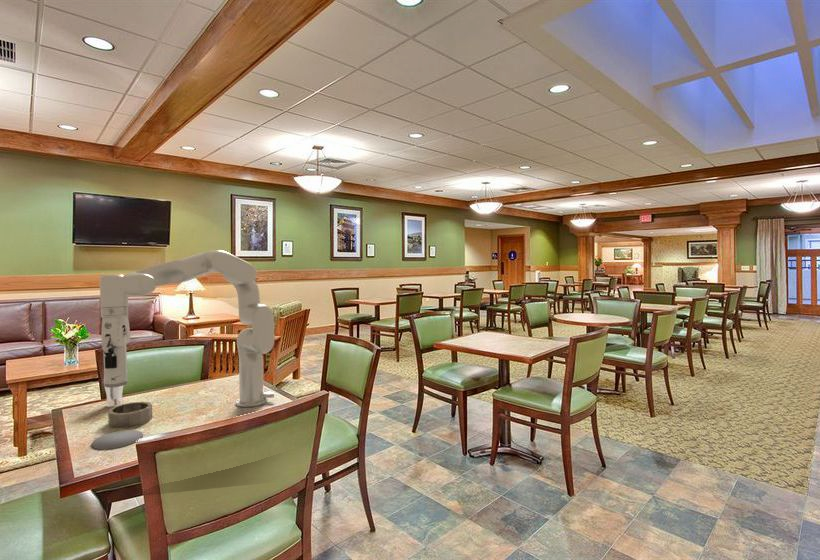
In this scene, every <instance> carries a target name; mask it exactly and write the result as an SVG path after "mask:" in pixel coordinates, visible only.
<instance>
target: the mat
mask: <svg viewBox="0 0 820 560" xmlns="http://www.w3.org/2000/svg"><path fill="white" fill-rule="evenodd" d="M141 437H142V438H143V437H144V434H143V431H140V430H136V429H131V430H130V429H125V430H119V431H115V432H114V431H113V432H109V433H106V434H103V435H100V436H99V437H97V438H96V439H93V441H92V443H91V447H92V446H93V447H94V449H95V448H98V449H97V450H102V449H105V450H114V449H113V448H115V449H119V448H124V447H127V446H130V445H132V444H135V443H136V442H135V441H136V440H137V439H139V438H141ZM142 438H141V439H142ZM93 447H92V448H93Z"/></svg>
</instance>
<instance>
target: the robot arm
mask: <svg viewBox="0 0 820 560" xmlns="http://www.w3.org/2000/svg"><path fill="white" fill-rule="evenodd" d="M213 273H219V274H222V277H223V279H224V280H225V281H226V282H228V283H230V284H232V286H233V287H234V288H235V290H236V293H237V301H238V319H239V322H240V323H241V324H243V325H245V326H250V327H248V328H244V329H242V330H241V331H240V332H239V333H238V335H237V336H236V347H237V353H238V361H239V362H238V367H239V369H238V371H239V372H238V373H239V374H238V375H239V377H238V378H239V380H238V381H239V384H238V385H239V398H237V399H236V400H235V405H236V406H237V407H242V408H250V407H259V406H261V405H264V404H266V403H267V402H268V399H272V398H275V392H272V391H266V389H265V388H264V357H263V355H265V354H268V353H269V352H271V351H272V350H273V348H274V345H275V318H274V313H273V311H272V309H271V308H270V307H269V306H268V305H266V304H262V303H261V297H260V290H259V286H258V283H257V282H256V279H257V277H258V274H257V269H256V267H255V266H254V264H252V263H250V262H249V261H246V260H244V259H242V258H240V257H239V256H238V257H237V256H236V255H234V254H231V253H230V252H227V251H225V250H222V249H220V250H219V249H216V250H212V249H211V250H206V251H202V252H198V253H195V254H192V255H188V256H185V257H181V258H179V259H174V260H171V261H167V262H164V263H161V264H157V265H153V266H148V267H146V268H142V269H139V270H134V271H132V272H129V273H127V274H117V273H116V274H113V273H112V274H110V273H109V274H103V275H101V276H100V278H99V297H100V298H99V301H100V302H99V303H100V304H99V307H100V309H99V310H100V318H102V320H101V331H100V332H101V336H100V337H101V350H102V352H103V351H104V356H103V358H104V357H105V368H106V369H110V368H117V356H115V353H116V347H121V346H123V345H124V336H123V333H124V334H125V333H126V334H125V335H126V336H125V337H126V346H127V345H128V344H129V343H130V342H131V329H130V328H131V327H130V321H129V296H148V295H150V294H152V293H153V292H154V291H155V290H156V289H157V287H159V286H164V285H168V284H180V283H185V282H189V281H192V280H195V279H196V278H200V277H203V276H206V275H209V274H213ZM123 325H125V327H124V328H125V330H126V331H124V332H123V330H124V328H122V326H123ZM109 344H113V345H114V346H109ZM111 349H113V351H112V350H111ZM126 351H127V347H126Z"/></svg>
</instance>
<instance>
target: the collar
mask: <svg viewBox="0 0 820 560" xmlns="http://www.w3.org/2000/svg"><path fill="white" fill-rule="evenodd" d="M107 414H108V416H107V417H108V418H107V421H108V422H107V424H108V426H109V428H114V429H125V428H127V429H128V428H133V427H137V425H138V426H141V425H144V424H146V423H148V422H150V421H151V420H152V419H153V404H152V403H151V402H148V401H135V402H127V403H123V404H121V405H118V406H115V407H110V409H109V410H107Z"/></svg>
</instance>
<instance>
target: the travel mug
mask: <svg viewBox="0 0 820 560" xmlns="http://www.w3.org/2000/svg"><path fill="white" fill-rule="evenodd" d="M124 327H125V325H123V326H122V328H124ZM124 331H126V330H125V328H124V330H123V332H124ZM125 334H126V333H125ZM125 334H124V333H123V336H124V345H123V346H121V347H116V353H115V356H117V368H110V369H106V368H105V357H104V351H103V350H102V352H103V353H102V354H103V385H104V386H105V387H108V388H112V387H120V386H123V385H124V386H125V385H127V384H128V365H127V364H128V363H127V360H128V359H127V350H126V348H127V345H126V337H125V336H126V335H125ZM109 346H114V345H113V344H109ZM111 350H112V351H113V349H111ZM104 381H105V382H104ZM124 386H123V387H124ZM105 387H104V388H105Z"/></svg>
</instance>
